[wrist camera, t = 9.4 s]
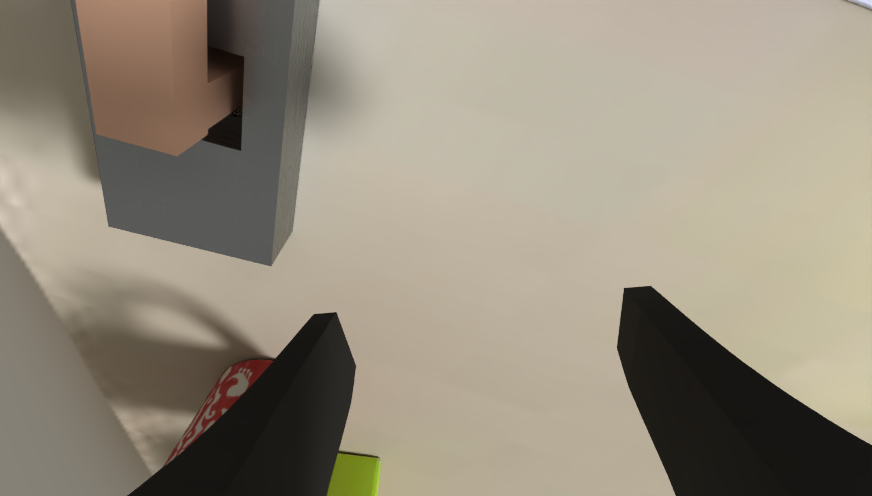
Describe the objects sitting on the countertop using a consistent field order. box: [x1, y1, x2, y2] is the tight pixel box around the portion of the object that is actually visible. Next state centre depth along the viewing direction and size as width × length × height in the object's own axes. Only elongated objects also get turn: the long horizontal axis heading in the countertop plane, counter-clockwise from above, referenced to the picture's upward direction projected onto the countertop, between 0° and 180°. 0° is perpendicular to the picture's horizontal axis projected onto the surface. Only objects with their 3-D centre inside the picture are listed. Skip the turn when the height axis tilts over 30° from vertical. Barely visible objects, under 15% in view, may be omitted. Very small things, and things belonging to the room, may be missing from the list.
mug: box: [163, 360, 273, 467], centre depth 23 cm, size 13×9×14 cm
